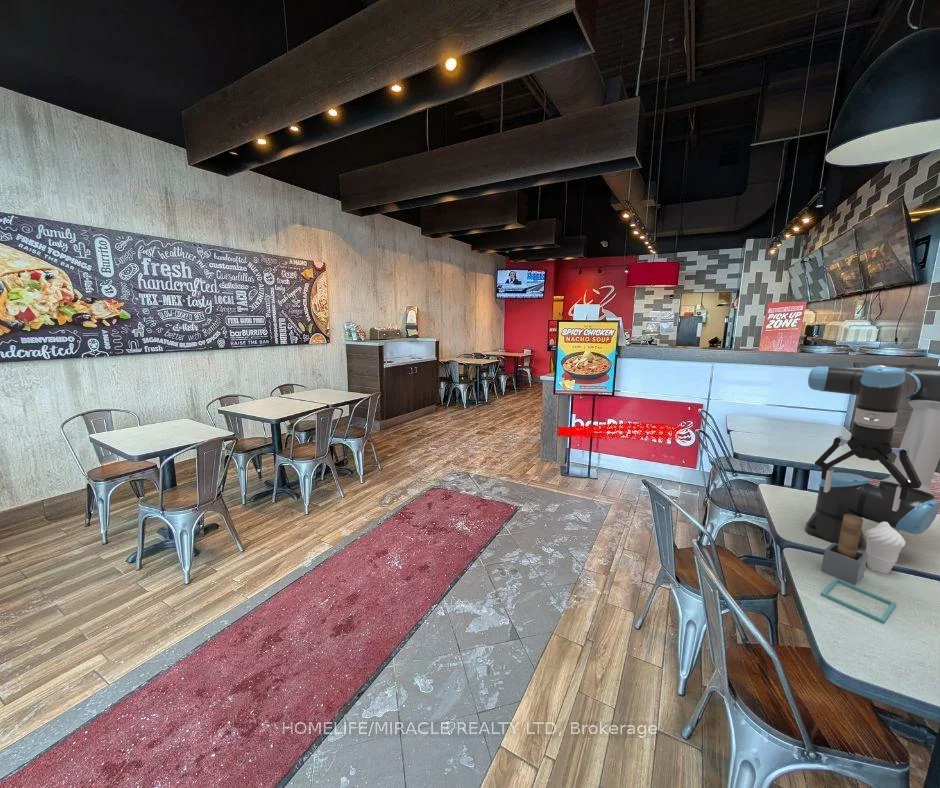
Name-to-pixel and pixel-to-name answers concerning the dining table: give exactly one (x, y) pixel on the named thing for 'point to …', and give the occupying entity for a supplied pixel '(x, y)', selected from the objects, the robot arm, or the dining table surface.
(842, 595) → the dining table surface
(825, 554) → the open box
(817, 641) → the dining table surface
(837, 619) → the dining table surface
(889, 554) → the soft serve ice cream cone
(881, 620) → the tray
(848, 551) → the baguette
